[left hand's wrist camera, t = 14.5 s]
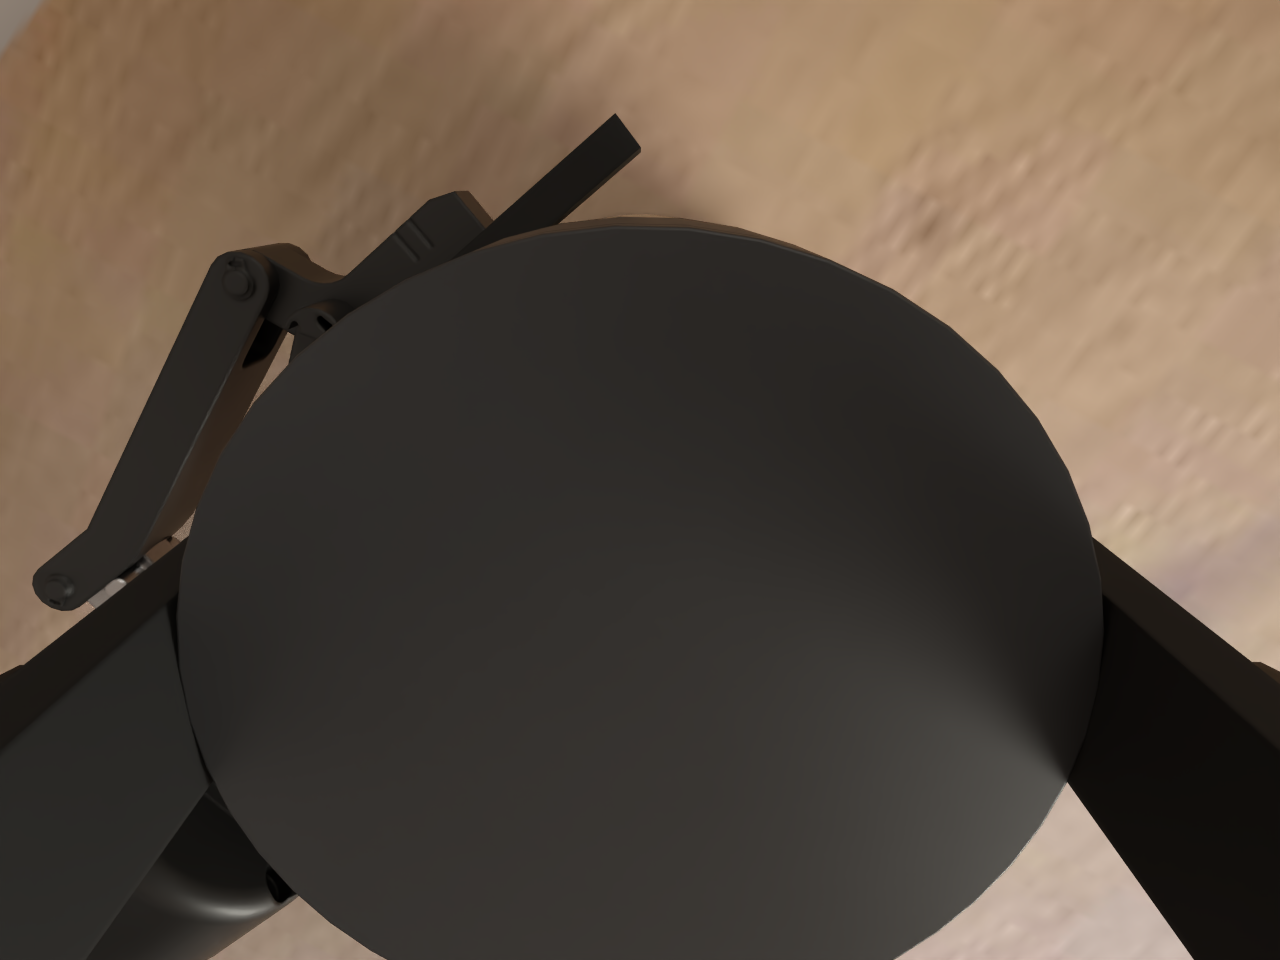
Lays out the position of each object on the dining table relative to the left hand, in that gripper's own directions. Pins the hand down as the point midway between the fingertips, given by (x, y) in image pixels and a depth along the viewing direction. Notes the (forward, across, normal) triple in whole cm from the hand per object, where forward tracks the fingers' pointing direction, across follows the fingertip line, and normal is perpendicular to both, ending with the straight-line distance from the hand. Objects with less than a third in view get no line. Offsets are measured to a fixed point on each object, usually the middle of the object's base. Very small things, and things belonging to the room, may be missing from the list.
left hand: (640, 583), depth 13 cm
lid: (-3, 0, 0) cm, 3 cm away
